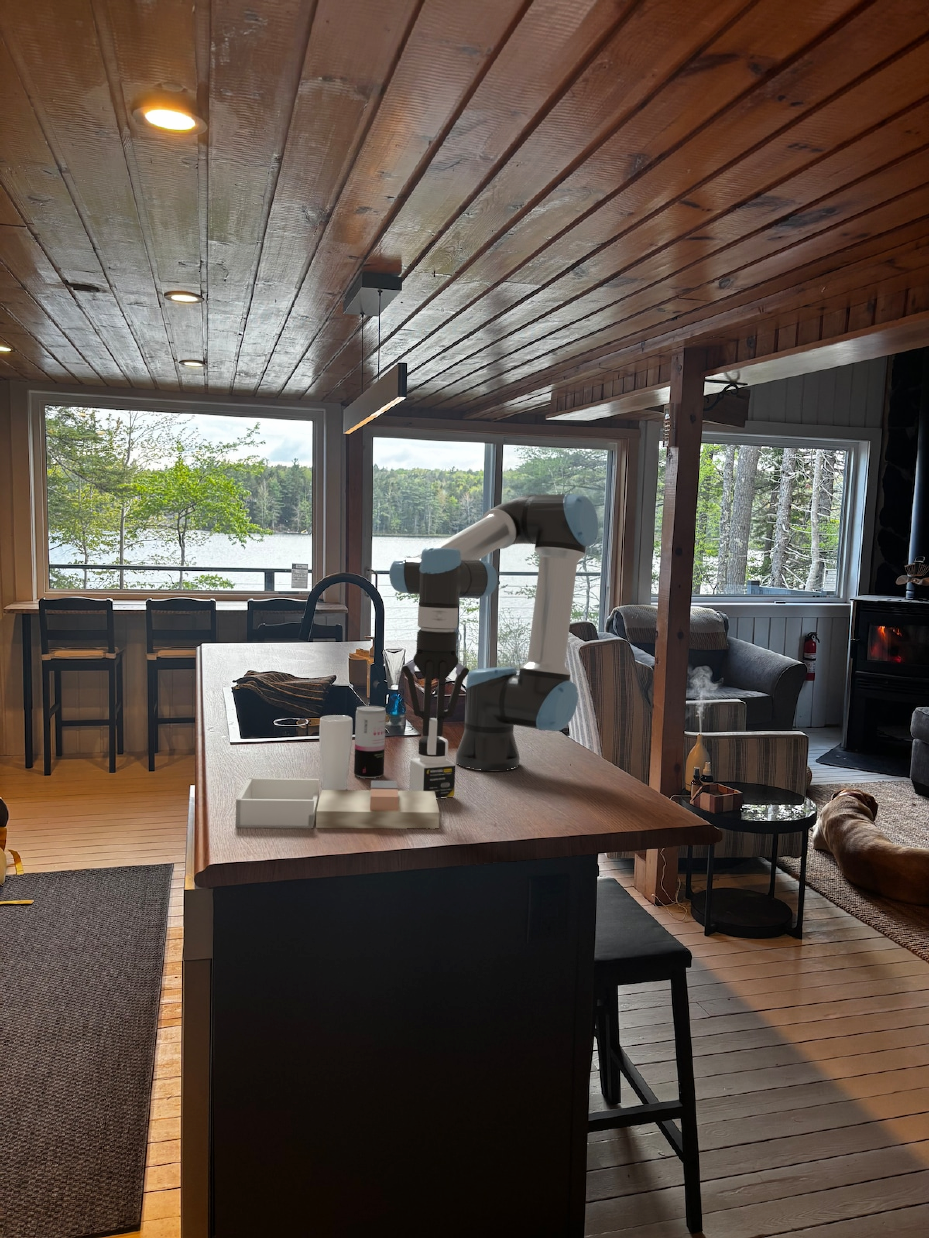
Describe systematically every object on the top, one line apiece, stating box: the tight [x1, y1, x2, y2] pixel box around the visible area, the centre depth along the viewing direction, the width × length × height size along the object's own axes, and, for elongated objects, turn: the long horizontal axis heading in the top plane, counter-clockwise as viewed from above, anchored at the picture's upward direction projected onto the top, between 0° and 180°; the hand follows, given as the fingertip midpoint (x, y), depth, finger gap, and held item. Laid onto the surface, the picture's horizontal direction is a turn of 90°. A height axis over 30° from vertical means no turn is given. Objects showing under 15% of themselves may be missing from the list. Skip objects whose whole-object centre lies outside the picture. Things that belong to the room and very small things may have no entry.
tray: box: [235, 777, 320, 829], centre depth 162 cm, size 14×15×5 cm
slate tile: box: [370, 780, 399, 797], centre depth 167 cm, size 5×5×2 cm
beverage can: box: [353, 705, 387, 779], centre depth 193 cm, size 6×6×15 cm
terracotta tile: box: [370, 788, 399, 810], centre depth 161 cm, size 5×5×2 cm
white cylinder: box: [318, 714, 354, 790], centre depth 181 cm, size 7×7×15 cm
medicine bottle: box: [408, 736, 456, 798], centre depth 180 cm, size 7×7×12 cm
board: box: [315, 789, 440, 830], centre depth 164 cm, size 22×14×3 cm, turn 96°
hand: (431, 752), depth 167 cm, fingers closed
